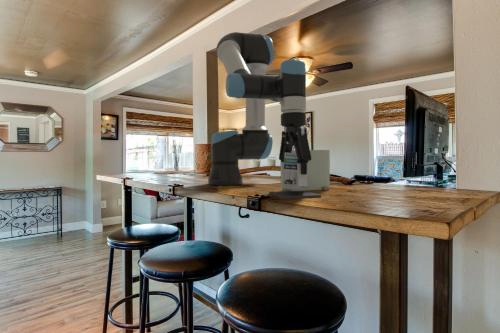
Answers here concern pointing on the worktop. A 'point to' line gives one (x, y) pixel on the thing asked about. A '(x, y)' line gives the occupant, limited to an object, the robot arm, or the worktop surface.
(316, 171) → the screen
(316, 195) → the mat
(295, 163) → the light bulb box
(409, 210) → the worktop surface
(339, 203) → the worktop surface
